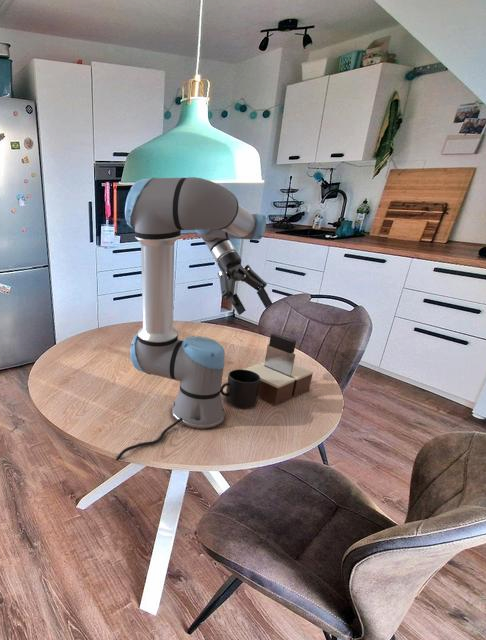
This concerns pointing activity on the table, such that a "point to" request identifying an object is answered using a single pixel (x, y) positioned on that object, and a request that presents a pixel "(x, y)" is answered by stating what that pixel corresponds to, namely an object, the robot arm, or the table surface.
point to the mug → (242, 388)
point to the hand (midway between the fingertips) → (256, 309)
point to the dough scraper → (280, 354)
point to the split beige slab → (281, 383)
